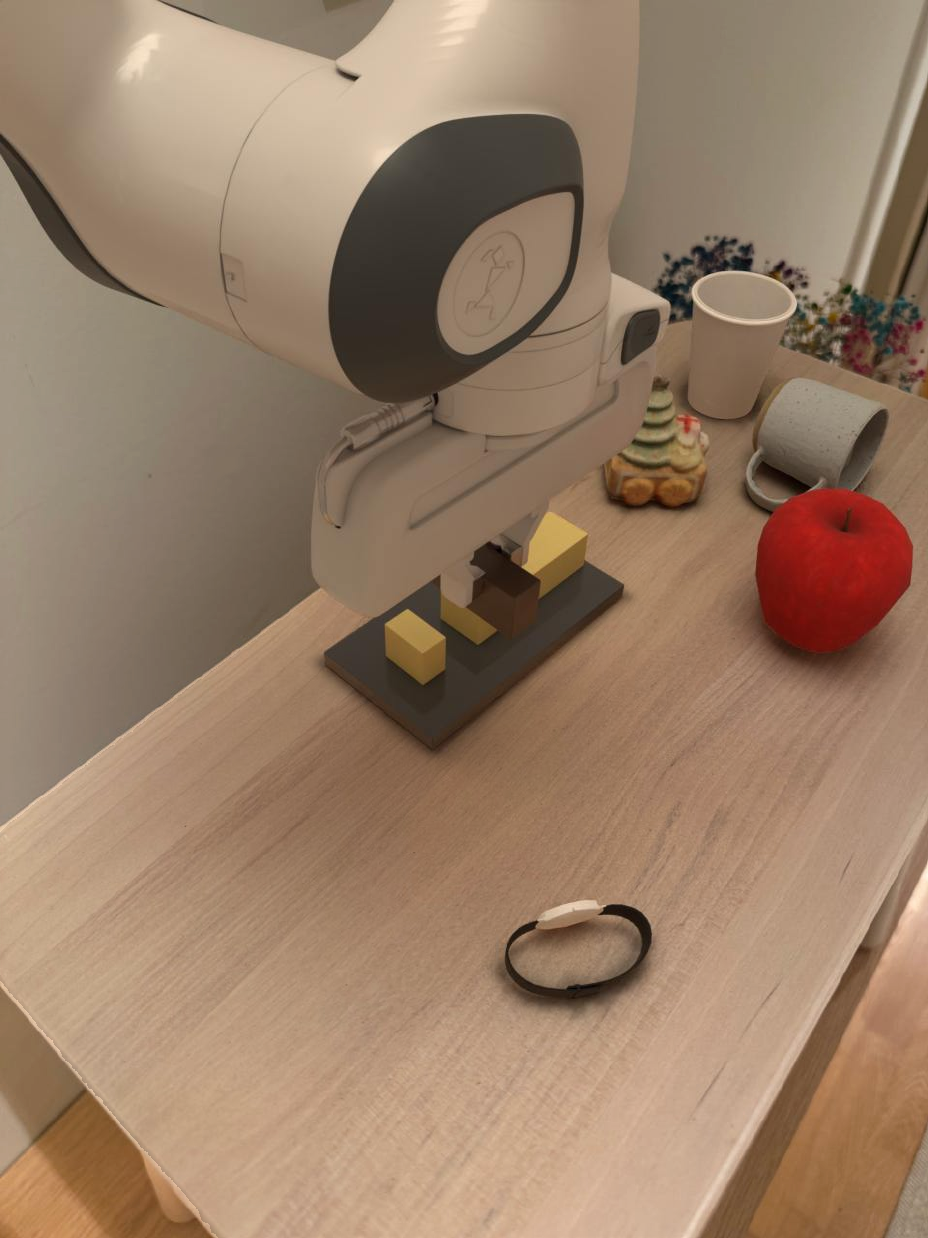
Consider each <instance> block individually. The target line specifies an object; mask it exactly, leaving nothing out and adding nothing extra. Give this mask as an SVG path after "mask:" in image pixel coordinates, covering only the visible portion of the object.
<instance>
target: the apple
mask: <svg viewBox="0 0 928 1238" xmlns="http://www.w3.org/2000/svg"><path fill="white" fill-rule="evenodd" d="M807 491H808V490H807ZM807 491H805V492H803V493H800V494H798V495H795V496H792V497H789V498H787V499H788V500H787V501H786V502H785V503H783V504H782V505H781V506H779V507H778V508H777V509H776V510H775V511H774V512H772V513H771V515H770V517H769V518H768V520H767V521H766V523H765V524H764V525H763V527H762V530H761V533H760V536H759V540H758V542H757V550H756V559H755V560H756V561H755V572H754V576H755V581H756V588H757V592H758V599H759V605H760V609H761V613H762V617H763V621H764V623H765V624H766V625H767V626H768V627H769V628H770V630H772V631H773V633H774V634H775V635H777V636H778V637H779V638H781V639H782V640H784V641H786V642H787V643H789V644H790V645H791V646H793V647H795V648H798V649H802V650H806V651H808V652H813V653H816V654H817V653H818V654H819V653H820V654H821V653H831V652H839V651H840V650H844V649H845V648H846V649H847V647H851V646H852V645H854V644H856V643H857V642H858V641H859V640H860V639H862V638H863V637H864V636H866V635H867V634H868V633H869V632H870V631H872V630H873V629H874V628H875V627H877V626H878V625H879V624H880V622H882V621H883V619H885V617H886V616H887V615H888V614H889V613H890V611H891V610H892V609H893V608H894V606H895V605H896V604H897V603H898V602H899V600H900V599H901V598H902V597H903V595H904V594H905V593H906V592H907V591H908V589H909V588H910V587H911V583H912V575H913V573H912V572H913V562H914V561H913V560H914V545H913V542H912V539H911V537H910V535H909V533H908V530H907V528H906V527H905V526H904V525H903V523H902V521H900V519H898V517H897V516H896V515H895V514H894V513H893V512H892V511H891V510H890V509H889V508H888V507H887V506H886V505H885V504H884V503H883V502H880V501H878V500H876V499H875V498H873V497H870V496H868V495H867V494H864V493H860V492H857V491H855V490H853V491H850V490H847V489H817V490H811V491H808V492H807Z"/></svg>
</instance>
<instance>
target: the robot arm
mask: <svg viewBox="0 0 928 1238" xmlns="http://www.w3.org/2000/svg"><path fill="white" fill-rule="evenodd" d="M640 11H641V10H640V0H393V2H392V3H391V5H390V6H389V8H388V9H387V10H386V12H385V13H384V15H383V16H382V17H381V18H380V20H379V21H378V22H377V24H376V25H375V26H374V27H373V28H372V29H371V31H370V32H369V33H368V34H367V35H366V36H365V37H364V38H363V39H362V40H361V41H360V42H359V43H357V44H356V45H355V46H354V47H353V48H351V49H350V50H349V51H348V52H346V53H344V54H343V55H342V56H340V57H338V58H336V60H335V59H330V58H327V57H324V56H321V55H317V54H314V53H312V52H308V51H304V50H301V49H298V48H294V47H291V46H288V45H284V44H281V43H278V42H275V41H271V40H268V39H265V38H262V37H258V36H256V35H252V34H248V33H247V32H242V31H239V30H236V29H234V28H230V27H227V26H225V25H222V24H220V23H218V22H216V21H214V20H212V19H210V18H208V17H206V16H204V15H201V14H198V13H196V12H193V11H190V10H188V9H185V8H182V7H180V6H177V5H174V4H172V3H169V2H166V1H164V0H0V156H1V159H3V161H4V163H5V165H6V166H7V167H8V169H9V171H10V173H11V174H12V176H13V178H14V180H15V182H16V183H17V185H18V187H19V188H20V190H21V192H22V194H23V196H24V198H25V200H26V202H27V204H28V206H29V207H30V208H31V211H32V212H33V214H34V216H35V217H36V219H37V221H38V223H39V224H40V226H41V228H42V229H43V231H44V232H45V234H46V235H47V237H48V238H49V240H50V241H51V242H52V244H53V245H54V246H55V248H56V249H57V250H58V251H59V253H60V254H61V255H62V256H63V257H64V258H65V259H66V260H67V261H68V262H69V263H70V265H72V266H73V267H74V268H75V269H76V270H78V272H80V273H81V274H83V275H84V276H86V277H87V278H88V279H90V280H92V281H93V282H95V283H97V284H98V285H101V286H103V287H105V288H108V289H111V290H114V291H116V292H120V293H122V294H125V295H128V296H130V297H133V298H135V299H138V300H142V301H144V302H146V303H150V304H153V305H155V306H159V307H162V308H167V309H170V310H172V311H174V312H175V313H179V314H180V315H183V316H185V317H187V318H189V319H191V320H193V321H196V322H198V323H199V324H202V325H204V326H206V327H207V328H210V329H213V330H215V331H216V332H219V333H220V334H223V335H226V336H228V337H229V338H231V339H234V340H235V341H237V342H240V343H242V344H244V345H246V346H249V347H251V348H252V349H255V350H257V351H259V352H262V353H263V354H266V355H268V356H271V357H273V358H276V359H278V360H281V361H283V362H285V363H287V364H289V365H292V366H293V367H296V368H297V369H300V370H302V371H304V372H306V373H309V374H311V375H313V376H315V377H317V378H320V379H322V380H324V381H326V382H329V383H331V384H333V385H335V386H337V387H339V388H342V389H344V390H347V391H349V392H352V393H354V394H357V395H361V396H365V397H368V398H369V399H372V400H373V401H377V402H381V403H385V404H384V405H382V406H381V407H380V408H378V409H377V410H375V411H373V412H371V413H369V414H363V415H360V416H358V417H357V418H354V419H353V420H351V421H350V422H348V423H347V424H346V425H344V426H343V427H342V429H341V430H340V431H339V439H338V440H337V442H335V443H334V444H333V446H332V447H331V448H330V449H329V451H328V452H327V454H326V455H325V457H324V458H322V459H321V460H320V461H319V462H318V464H317V468H316V472H315V483H314V484H315V485H314V491H313V499H312V501H313V502H312V511H311V512H312V513H311V525H310V527H311V528H310V569H311V573H312V578H313V580H314V581H315V583H316V584H317V585H318V586H319V587H320V588H321V589H322V590H323V592H325V593H326V594H328V595H329V596H330V597H331V598H332V599H334V600H335V601H337V602H338V603H339V604H341V605H342V606H344V607H345V608H347V609H349V610H350V611H352V612H354V613H356V614H358V615H361V616H363V617H366V618H369V619H373V618H375V617H378V616H380V615H381V614H383V613H385V612H386V611H387V610H389V609H390V608H392V607H393V606H395V605H396V604H398V603H399V602H401V601H402V600H403V599H405V598H406V597H408V596H409V595H411V594H412V593H414V592H415V591H417V590H418V589H420V588H421V587H423V586H424V585H426V584H427V583H428V582H430V581H431V580H433V579H434V578H436V577H437V576H439V575H440V574H441V585H440V589H441V592H442V594H443V595H444V597H445V598H447V599H448V600H450V601H451V602H452V603H454V604H455V605H457V606H458V607H460V608H465V607H466V606H467V605H469V604H470V603H471V602H472V601H474V600H475V599H476V598H478V597H479V596H480V595H482V594H483V593H484V587H483V585H484V583H485V576H486V572H485V571H483V570H482V569H480V568H479V567H477V566H473V565H471V564H470V561H471V560H472V559H473V558H474V551H476V550H477V549H479V548H480V547H481V546H483V545H484V544H487V545H489V546H490V547H492V548H493V549H495V550H496V551H498V552H499V553H501V554H502V555H504V556H505V557H507V558H508V559H510V560H511V561H513V562H514V563H516V564H517V565H519V566H520V567H522V566H523V565H525V564H526V563H527V562H528V553H529V544H530V541H531V540H532V538H533V536H534V534H535V533H536V531H537V529H538V527H539V525H540V523H541V521H542V519H543V517H544V516H545V514H546V513H548V510H549V507H550V501H551V500H552V499H554V498H555V497H556V496H559V495H560V494H561V493H563V492H564V491H566V490H567V489H568V488H571V487H572V486H573V485H574V484H576V483H578V482H579V481H580V480H582V479H583V478H585V477H586V476H587V475H589V474H591V473H592V472H594V471H595V470H597V469H598V468H600V467H601V466H602V465H604V463H605V462H607V461H608V460H610V459H611V458H613V457H614V456H616V455H617V454H619V453H620V452H622V451H623V450H625V449H626V448H627V447H628V446H629V445H630V444H631V442H632V441H633V439H634V438H635V436H636V435H637V433H638V431H639V430H640V428H641V426H642V424H643V421H644V419H645V415H646V411H647V407H648V403H649V399H650V394H651V390H652V385H653V380H654V377H655V375H656V368H657V363H658V349H657V345H658V344H659V343H660V342H661V341H662V340H663V338H664V336H665V335H666V332H667V330H668V327H669V326H668V325H669V321H670V316H671V303H670V301H669V300H667V299H666V298H664V297H662V296H661V295H659V294H657V293H656V292H655V293H654V292H653V291H651V290H650V289H647V288H646V287H644V286H641V285H640V284H637V283H635V282H634V281H631V280H629V279H628V278H625V277H623V276H621V275H618V274H616V273H614V272H612V269H611V268H612V267H611V262H610V257H609V237H610V231H611V228H612V224H613V220H614V218H615V215H616V213H617V211H618V209H619V207H620V205H621V203H622V201H623V198H624V195H625V192H626V187H627V182H628V174H629V168H630V161H631V152H632V145H633V134H634V127H635V118H636V108H637V107H636V106H637V95H638V79H639V66H640V65H639V64H640V39H641V38H640V36H641V35H640V34H641V33H640V31H641V30H640V26H641V25H640V24H641V21H640V20H641V19H640V18H641V17H640V15H641V13H640Z"/></svg>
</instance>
